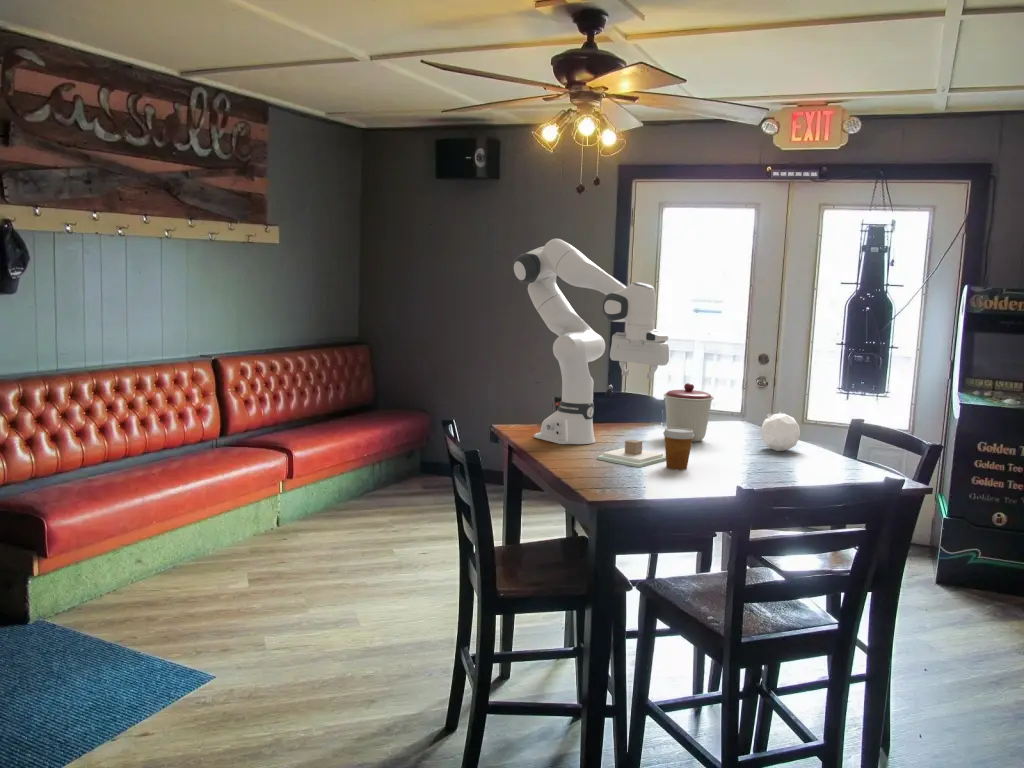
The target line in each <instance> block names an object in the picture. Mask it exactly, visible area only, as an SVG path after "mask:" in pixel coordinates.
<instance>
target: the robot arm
mask: <svg viewBox="0 0 1024 768" xmlns="http://www.w3.org/2000/svg"><path fill="white" fill-rule="evenodd" d="M512 271H513V272H512V273H513V274H514V277H515V278H516V280H518V281H519V282H520V283H522V284H528V285H527V292H528V295H529V296H528V297H530V300H531V302H532V304H533V306H534V308H535V309H536V311H537V313H538V314H539V316H540V318H541V319H542V321H543V322H544V323H545V325H546V326H547V328H548V329H549V330H550V331H551V332H552V333H554V334H555V335H557V338H556V339H555V340H554V342H553V345H552V352H553V353H552V354H553V355H554V357H555V358H556V360H557V361H558V364H559V368H560V374H561V381H562V383H561V384H562V385H561V400H560V401H558V402H555V403H554V404H555V405H554V406H555V407H557V409H556V411H555V412H553V413H552V414H550V415H549V416H548V417H547V418H544V420H543V421H542V423H541V425H540V427H541V428H540V432H536V433H534V435H533V438H536V439H539V440H543V441H547V442H551V443H555V444H558V445H588V444H594V443H596V438H595V433H594V423H593V422H594V421H593V420H594V419H593V417H594V412H595V411H594V410H595V405H594V404H595V403H594V401H593V400H594V385H595V383H594V381H595V380H594V378H593V377H592V376H591V373H590V369H589V364H588V363H590V362H594V361H596V360H598V359H599V358H600V357H602V356H603V355H604V354H605V350H606V342H605V339H604V338H603V336H602V335H600V334H599V333H597V332H596V331H594V330H593V328H591V327H590V325H589V324H588V323H586V322H585V320H584V319H582V318H581V317H580V315H578V313H577V312H576V311H575V309H574V308H573V307H572V305H571V304H570V302H569V301H568V299H567V298H566V297H565V295H564V294H563V292H562V291H561V289H560V288H559V286H558V284H557V279H561V281H564V282H565V283H567V284H568V285H571V286H573V287H578V288H585V289H591V290H594V291H598V292H599V293H601V294H604V295H605V297H604V298H603V300H602V303H601V312H602V314H603V316H604V318H605V319H606V320H608V321H609V322H613V323H614V322H615V323H617V322H618V323H626V329H625V330H626V331H625V332H620V331H616V332H615V333H614V334H612V337H611V346H610V350H609V358H610V360H611V361H615V362H618V364H619V367H620V369H621V376H626V377H627V376H629V372H630V370H628V369H627V367H626V365H627V363H634V364H645V365H650V369H651V370H650V371H649V372H647V373H646V375H647V376H646V379H650V380H653V379H654V377H655V373H656V372H657V370H658V366H667V365H668V363H669V361H670V347H669V344H668V340H669V335H668V334H667V333H664V332H662V331H660V330H658V329H655V326H656V325H655V315H656V309H657V308H656V307H657V302H656V301H657V297H656V290H655V288H654V287H653V285H651V284H649V283H646V282H645V283H644V282H639V281H637V282H636V281H635V282H632V283H630V284H629V285H628V286H626V285H625V284H624V283H622V282H621V281H619V280H618V279H617V278H615V277H613V276H612V275H611V274H610V273H608V272H606V271H605V270H604V269H602V268H601V267H600V266H598V265H597V264H596V263H594V262H593V261H592V260H590V259H589V258H588V257H587V256H586V255H585V254H584V253H582V252H581V250H578V249H577V248H576V247H574V246H573V245H572V244H570V243H569V242H566V241H565V240H563V239H561V238H552V239H550V240H549V241H548V242H546V243H545V244H544V246H543V245H542V246H540V247H537V248H535V249H532V250H530V251H528V252H525V253H521V254H519V255H518V256H516V258H514V260H513V263H512Z"/></svg>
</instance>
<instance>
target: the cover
mask: <svg viewBox="0 0 1024 768" xmlns="http://www.w3.org/2000/svg"><path fill="white" fill-rule="evenodd" d="M602 455H603V456H607V457H612V458H617V459H622V460H628V461H633V462H638V463H642V462H645V461H649V460H653V459H657V458H661V457H663V456H664V454H663V453H660V452H654V451H648V450H645V449H643V440H636V439H628V440H625V441H624V447H622V448H617V449H614V450H608V451H605V452H603V453H602Z"/></svg>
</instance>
